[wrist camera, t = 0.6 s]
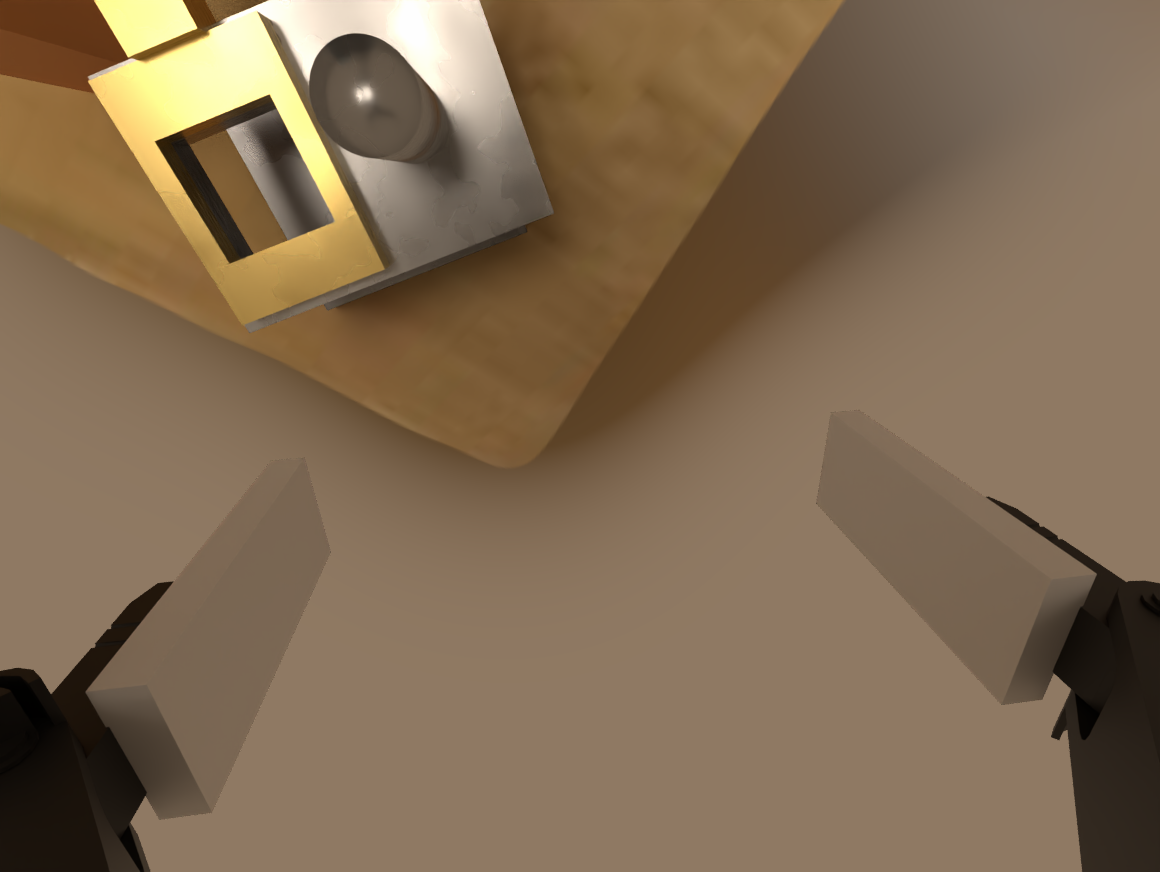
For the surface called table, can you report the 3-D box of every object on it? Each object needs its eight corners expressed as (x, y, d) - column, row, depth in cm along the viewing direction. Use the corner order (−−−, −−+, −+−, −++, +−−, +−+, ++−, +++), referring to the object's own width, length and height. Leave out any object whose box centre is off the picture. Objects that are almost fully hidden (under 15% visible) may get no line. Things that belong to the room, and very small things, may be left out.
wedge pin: (57, 28, 29) (-150, -40, 20) (111, 5, 29) (-73, -74, 20) (98, 94, 30) (-79, 58, 21) (150, 72, 30) (-6, 27, 21)
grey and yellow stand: (131, -18, 28) (-330, -255, 13) (420, -141, 28) (305, -551, 12) (318, 312, 36) (170, 416, 20) (549, 221, 35) (581, 256, 19)
